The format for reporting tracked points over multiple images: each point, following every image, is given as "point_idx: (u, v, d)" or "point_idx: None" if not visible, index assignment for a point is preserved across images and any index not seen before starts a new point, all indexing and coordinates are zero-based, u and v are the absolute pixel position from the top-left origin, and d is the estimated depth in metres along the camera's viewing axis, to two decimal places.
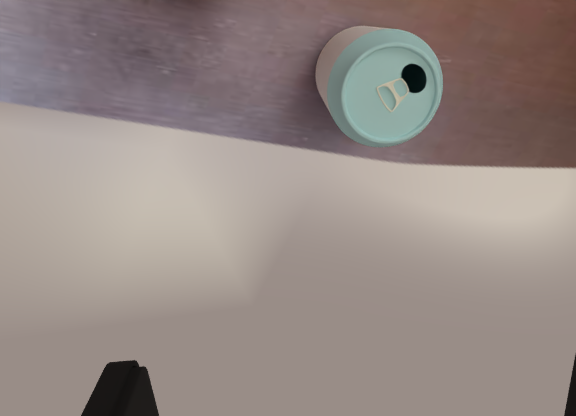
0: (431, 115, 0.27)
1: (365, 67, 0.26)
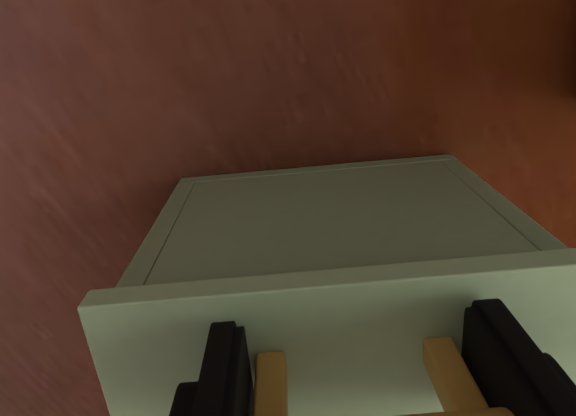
0: None
1: None
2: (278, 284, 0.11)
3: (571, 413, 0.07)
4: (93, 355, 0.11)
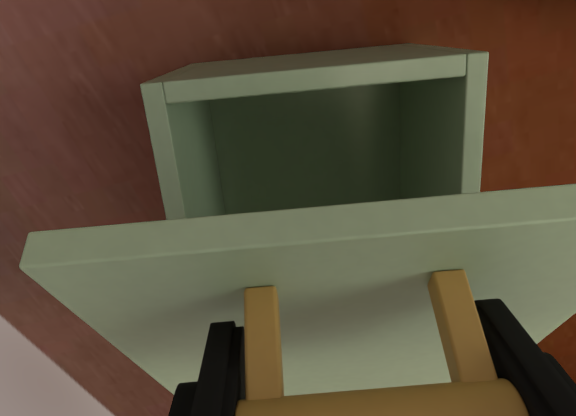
0: None
1: None
2: (268, 233, 0.09)
3: (572, 413, 0.07)
4: (55, 297, 0.10)
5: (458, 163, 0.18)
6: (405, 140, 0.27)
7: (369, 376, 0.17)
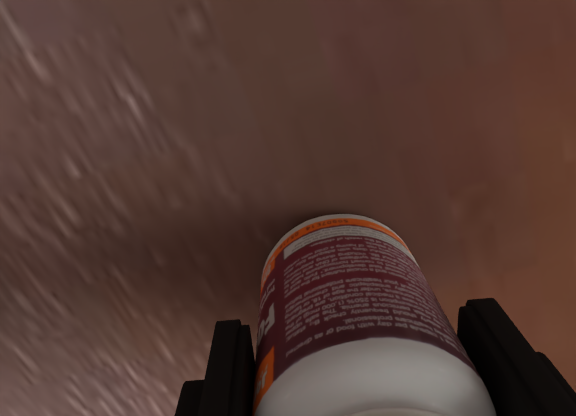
0: None
1: None
2: None
3: (563, 412, 0.07)
4: None
5: None
6: None
7: None
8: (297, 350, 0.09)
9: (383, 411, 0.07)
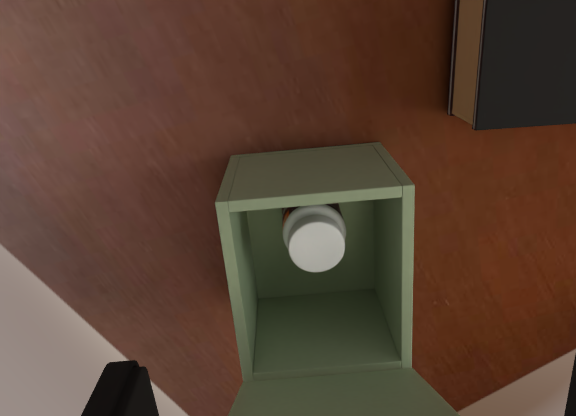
0: None
1: None
2: None
3: None
4: None
5: (400, 242, 0.31)
6: (376, 208, 0.39)
7: None
8: (295, 207, 0.34)
9: (313, 215, 0.33)
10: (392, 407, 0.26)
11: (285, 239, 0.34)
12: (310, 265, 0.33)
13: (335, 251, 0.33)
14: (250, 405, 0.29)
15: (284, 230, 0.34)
